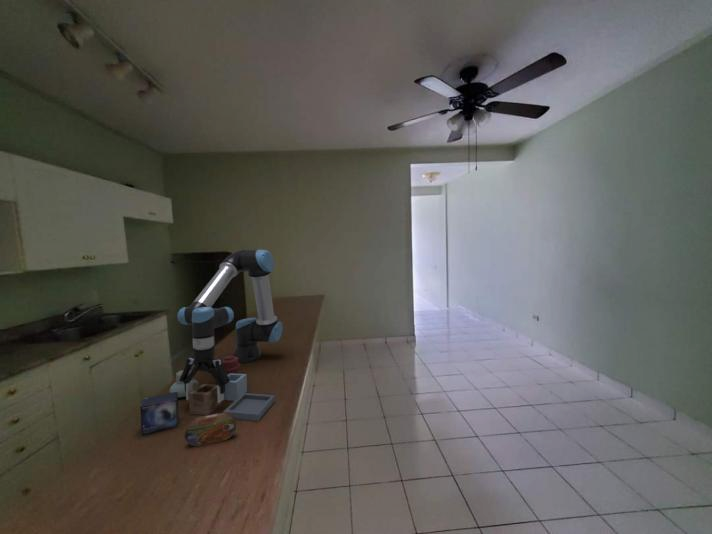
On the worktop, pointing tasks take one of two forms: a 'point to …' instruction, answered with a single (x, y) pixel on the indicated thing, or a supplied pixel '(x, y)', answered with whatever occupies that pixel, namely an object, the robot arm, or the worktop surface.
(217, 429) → the tin
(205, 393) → the brown open cube box
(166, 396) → the small box
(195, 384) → the air freshener
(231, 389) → the block
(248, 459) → the worktop surface
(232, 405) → the tray
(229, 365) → the mechanical component
